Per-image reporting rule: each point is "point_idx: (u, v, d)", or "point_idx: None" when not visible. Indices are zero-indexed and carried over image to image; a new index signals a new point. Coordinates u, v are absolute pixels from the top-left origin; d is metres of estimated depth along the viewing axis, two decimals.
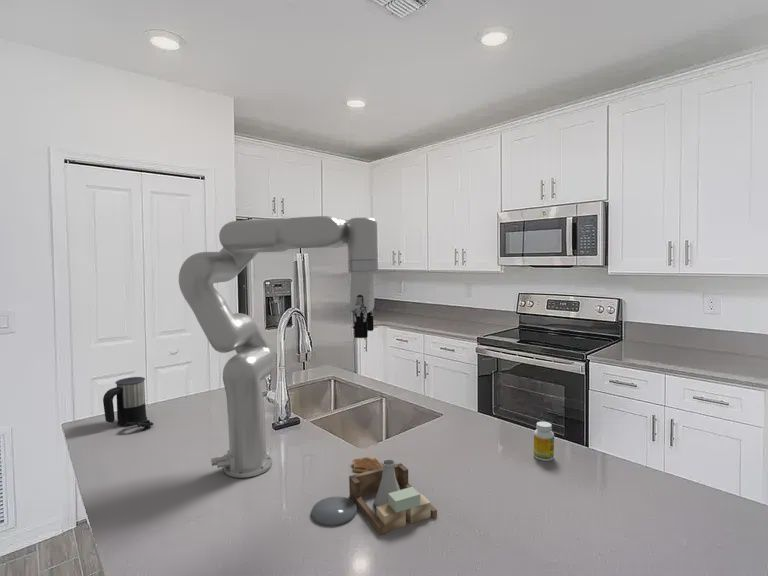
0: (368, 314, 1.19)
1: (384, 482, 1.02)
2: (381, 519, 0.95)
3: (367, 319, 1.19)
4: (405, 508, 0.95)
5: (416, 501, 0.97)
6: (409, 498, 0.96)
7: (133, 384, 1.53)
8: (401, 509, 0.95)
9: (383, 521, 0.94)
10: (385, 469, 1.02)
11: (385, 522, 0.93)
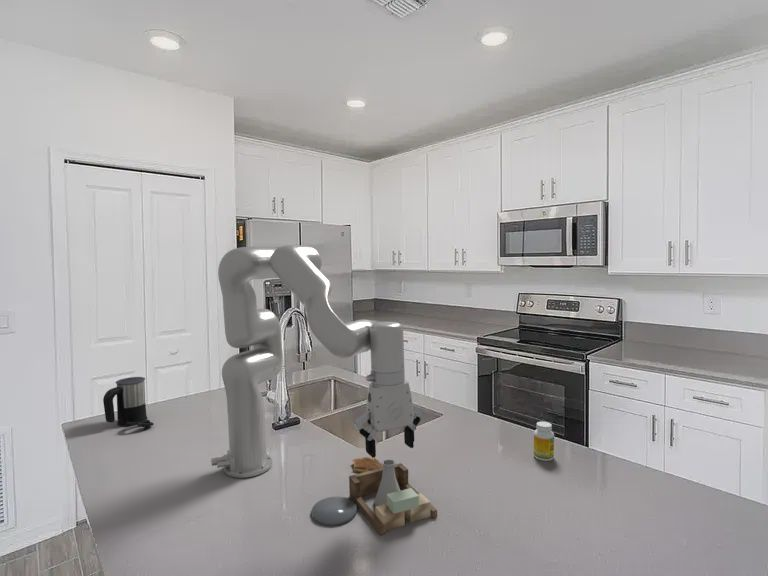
0: None
1: (384, 482, 1.02)
2: (380, 519, 0.95)
3: None
4: (403, 509, 0.95)
5: (415, 503, 0.96)
6: (408, 499, 0.95)
7: (133, 384, 1.53)
8: (399, 510, 0.95)
9: (382, 521, 0.94)
10: (385, 469, 1.02)
11: (384, 522, 0.93)
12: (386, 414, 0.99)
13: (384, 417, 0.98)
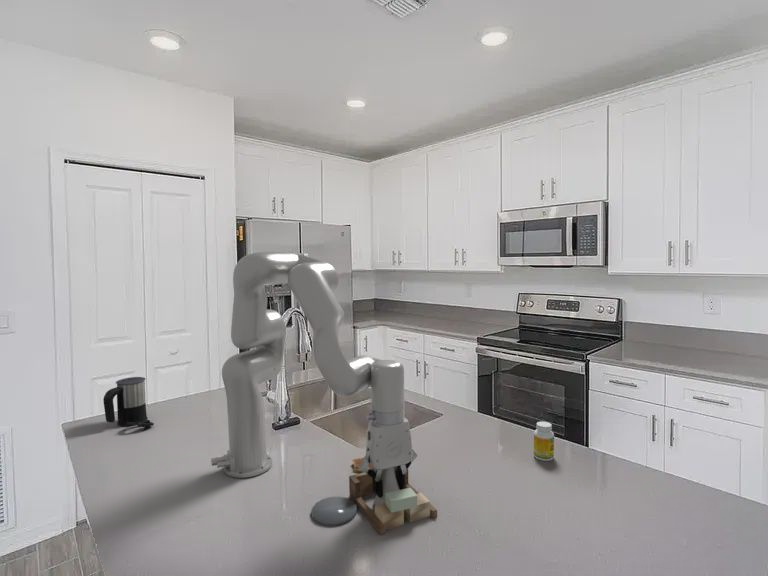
0: None
1: (384, 481, 1.02)
2: (379, 518, 0.95)
3: None
4: (401, 509, 0.95)
5: (413, 503, 0.96)
6: (406, 499, 0.96)
7: (133, 384, 1.53)
8: (397, 509, 0.95)
9: (381, 520, 0.94)
10: (385, 469, 1.02)
11: (383, 521, 0.94)
12: (385, 453, 0.99)
13: (383, 456, 0.99)
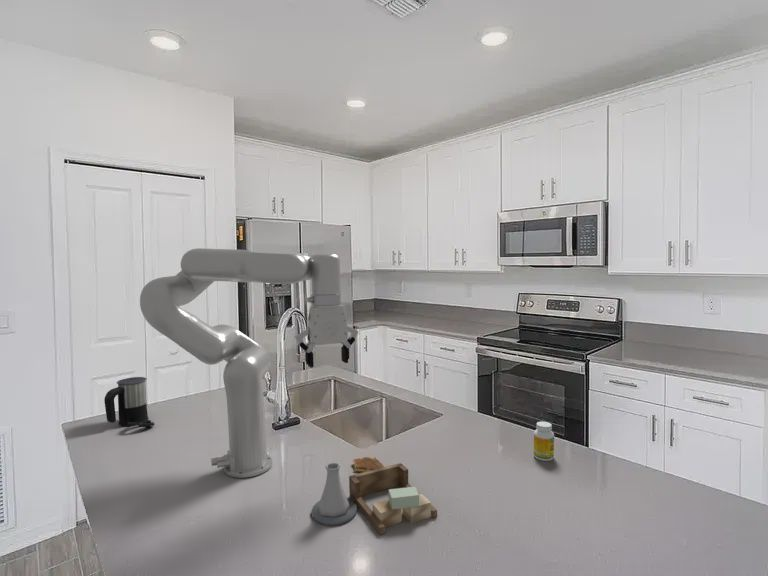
0: None
1: (327, 486, 0.99)
2: (377, 516, 0.96)
3: None
4: (402, 506, 0.96)
5: (415, 502, 0.97)
6: (407, 497, 0.96)
7: (134, 384, 1.53)
8: (398, 507, 0.96)
9: (379, 518, 0.95)
10: (329, 473, 0.99)
11: (381, 519, 0.95)
12: (322, 330, 1.16)
13: (321, 333, 1.16)
